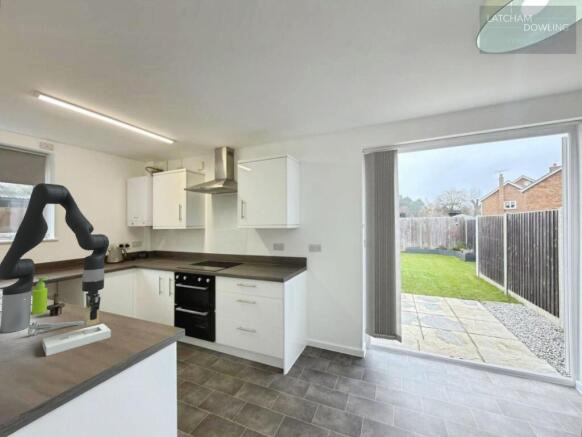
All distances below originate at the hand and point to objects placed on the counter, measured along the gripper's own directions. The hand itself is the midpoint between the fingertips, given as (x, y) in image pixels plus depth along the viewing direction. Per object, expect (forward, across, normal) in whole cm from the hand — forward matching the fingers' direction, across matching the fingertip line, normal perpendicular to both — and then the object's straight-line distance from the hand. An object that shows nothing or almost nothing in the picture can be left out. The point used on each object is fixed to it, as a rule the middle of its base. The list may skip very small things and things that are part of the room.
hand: (92, 318), depth 105 cm
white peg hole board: (+9, 0, -4) cm, 10 cm away
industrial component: (+9, -52, -5) cm, 53 cm away
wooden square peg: (+2, 0, 0) cm, 2 cm away
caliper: (+9, -23, -7) cm, 26 cm away
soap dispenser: (+9, -63, -10) cm, 65 cm away
